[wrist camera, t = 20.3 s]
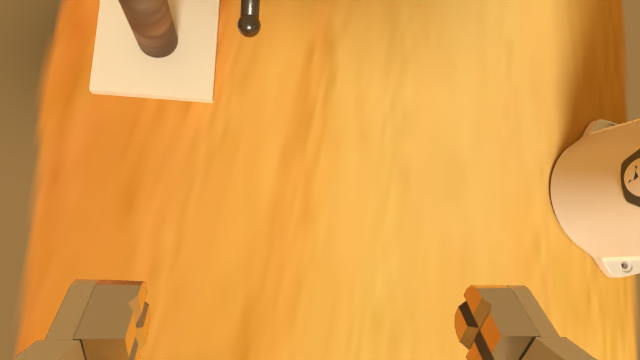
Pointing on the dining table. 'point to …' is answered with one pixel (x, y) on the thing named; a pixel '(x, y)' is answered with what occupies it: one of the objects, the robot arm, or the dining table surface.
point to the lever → (249, 18)
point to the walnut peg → (151, 26)
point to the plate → (157, 73)
